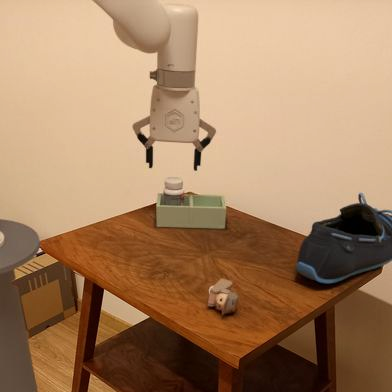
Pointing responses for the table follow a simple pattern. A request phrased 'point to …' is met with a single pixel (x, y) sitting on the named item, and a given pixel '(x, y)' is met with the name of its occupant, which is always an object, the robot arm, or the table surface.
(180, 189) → the pill bottle
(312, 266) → the moccasin
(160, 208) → the rack
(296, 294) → the table surface
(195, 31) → the robot arm
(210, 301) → the toy character
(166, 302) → the table surface
